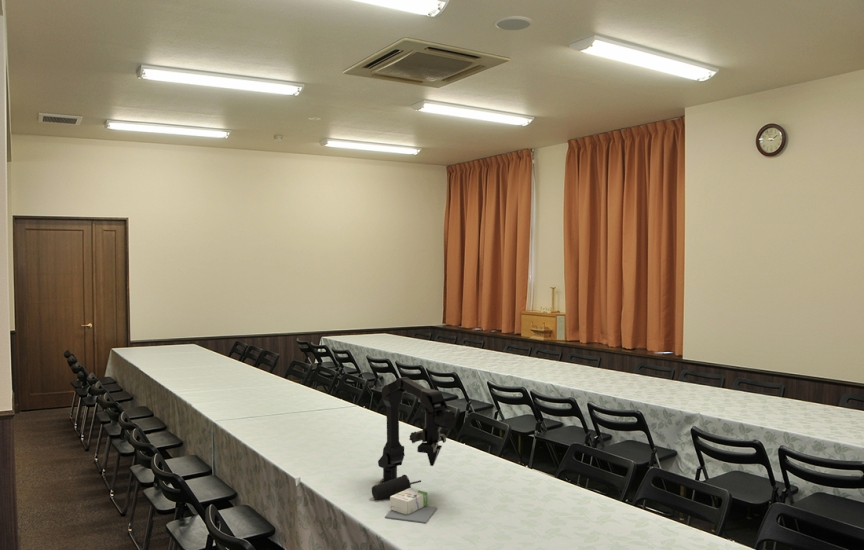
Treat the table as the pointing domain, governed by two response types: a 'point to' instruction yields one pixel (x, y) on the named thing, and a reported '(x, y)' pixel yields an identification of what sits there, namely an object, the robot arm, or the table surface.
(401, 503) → the ink box
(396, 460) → the robot arm
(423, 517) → the felt mat
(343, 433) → the table surface
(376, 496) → the drinking cup
